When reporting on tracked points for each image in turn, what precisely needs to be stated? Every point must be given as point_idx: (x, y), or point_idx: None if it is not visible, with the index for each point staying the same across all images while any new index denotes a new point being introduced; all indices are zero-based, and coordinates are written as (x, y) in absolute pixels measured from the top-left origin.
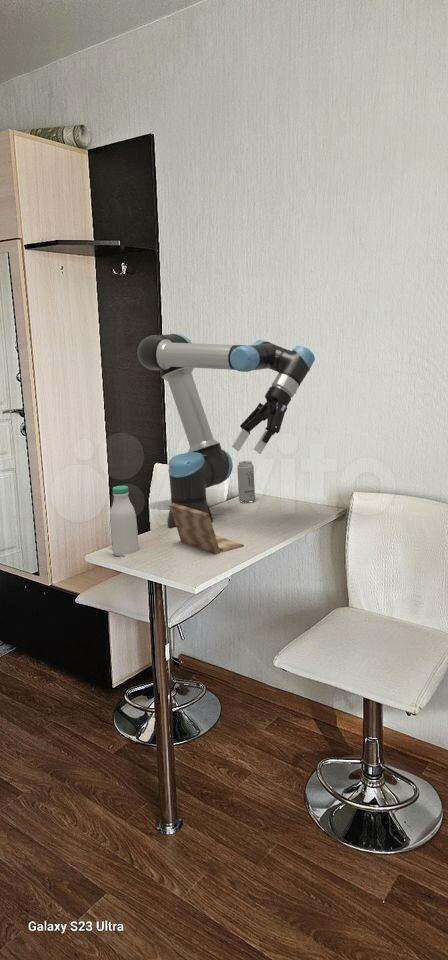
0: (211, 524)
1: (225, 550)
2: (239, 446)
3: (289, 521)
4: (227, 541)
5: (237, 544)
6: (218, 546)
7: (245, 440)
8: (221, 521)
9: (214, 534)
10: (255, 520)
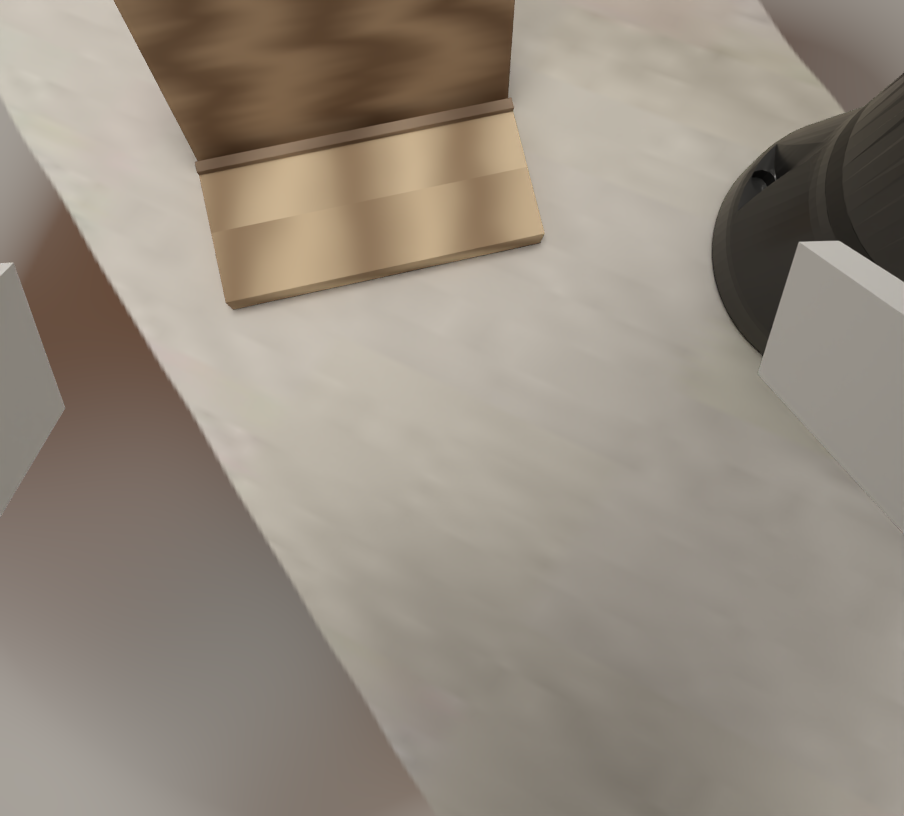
0: (123, 16)
1: (203, 189)
2: (802, 378)
3: (589, 781)
4: (330, 255)
5: (249, 276)
6: (184, 135)
7: (888, 512)
8: (808, 433)
9: (154, 74)
10: (722, 613)
